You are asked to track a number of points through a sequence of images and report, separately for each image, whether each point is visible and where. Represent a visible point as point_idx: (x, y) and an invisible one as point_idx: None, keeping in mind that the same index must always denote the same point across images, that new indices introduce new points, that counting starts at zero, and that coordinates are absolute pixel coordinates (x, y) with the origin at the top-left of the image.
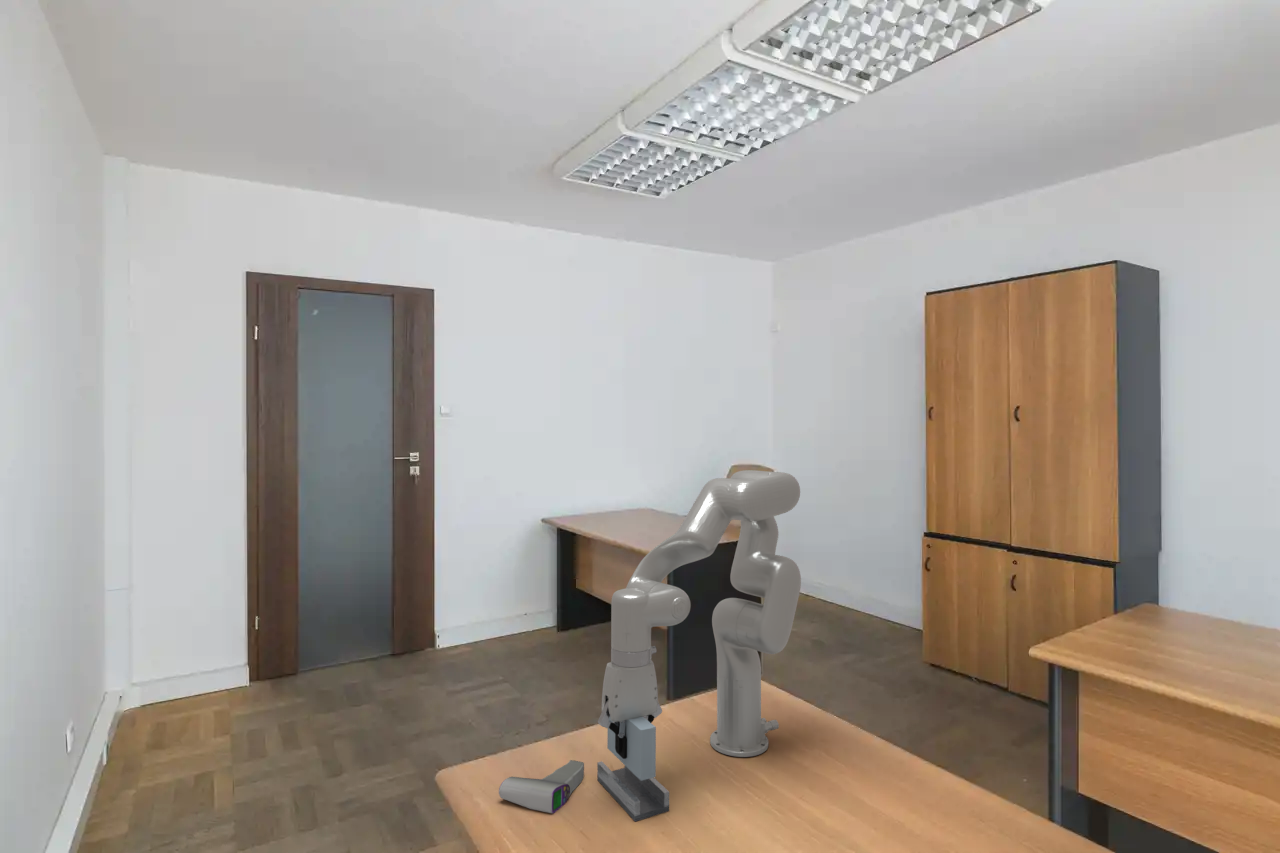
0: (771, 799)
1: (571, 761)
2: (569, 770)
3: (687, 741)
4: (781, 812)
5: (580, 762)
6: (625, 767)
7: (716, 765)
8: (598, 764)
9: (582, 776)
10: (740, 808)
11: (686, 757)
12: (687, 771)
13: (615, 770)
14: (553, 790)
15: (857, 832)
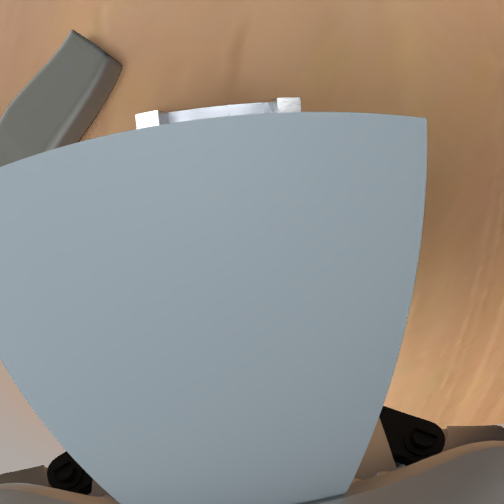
0: (468, 350)
1: (69, 44)
2: (37, 124)
3: (496, 57)
4: (448, 381)
5: (95, 57)
6: (269, 109)
7: (494, 202)
8: (137, 127)
9: (103, 98)
10: (417, 365)
11: (469, 124)
12: (438, 193)
13: (226, 106)
14: None
15: (462, 417)
